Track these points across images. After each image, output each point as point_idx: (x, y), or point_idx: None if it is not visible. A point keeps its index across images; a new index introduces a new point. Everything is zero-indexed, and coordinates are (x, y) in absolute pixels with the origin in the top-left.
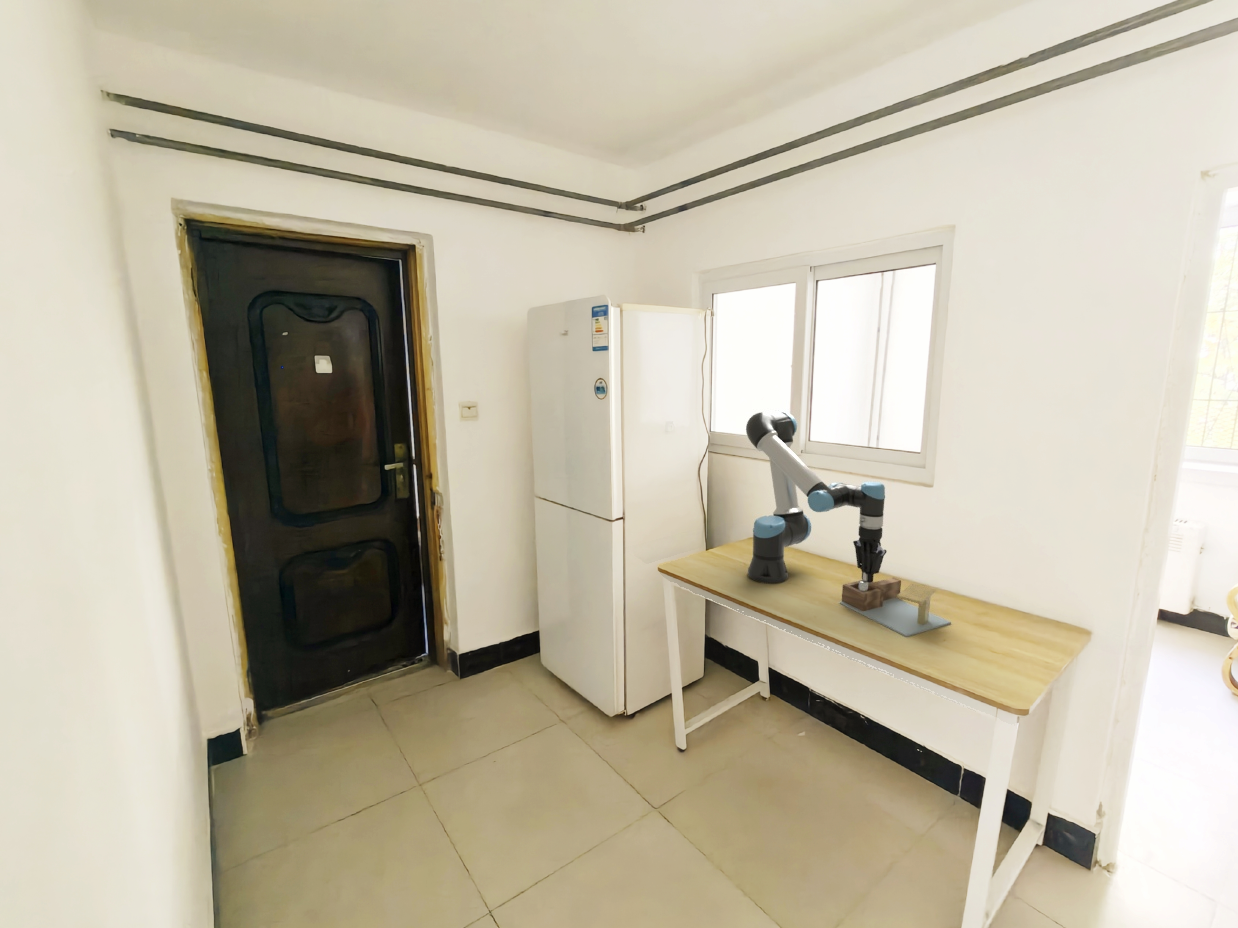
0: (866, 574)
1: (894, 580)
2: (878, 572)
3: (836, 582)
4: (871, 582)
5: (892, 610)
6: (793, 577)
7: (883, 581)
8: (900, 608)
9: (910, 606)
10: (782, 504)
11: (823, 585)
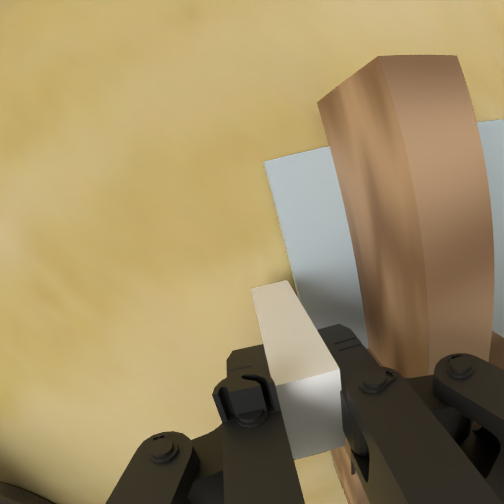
0: (341, 437)
1: (454, 122)
2: (474, 361)
3: (48, 364)
4: (303, 309)
5: (498, 283)
6: (31, 480)
7: (451, 268)
8: (497, 224)
9: (492, 150)
10: None
11: (99, 444)
